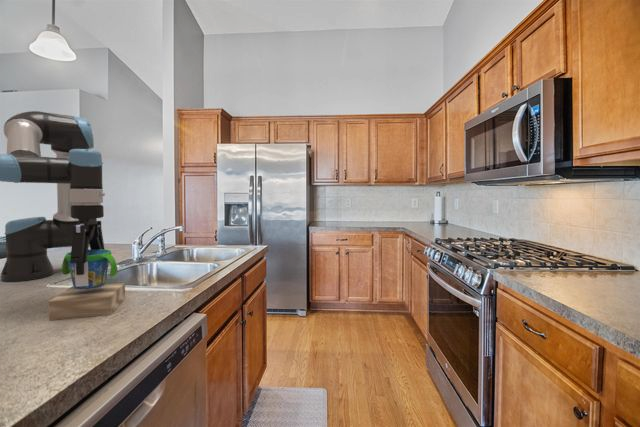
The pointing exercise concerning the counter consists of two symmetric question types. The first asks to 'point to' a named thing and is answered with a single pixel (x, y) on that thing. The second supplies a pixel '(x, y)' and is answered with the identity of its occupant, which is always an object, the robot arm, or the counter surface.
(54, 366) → the counter surface
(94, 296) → the maple block
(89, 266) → the snack cup
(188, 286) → the counter surface
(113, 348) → the counter surface
